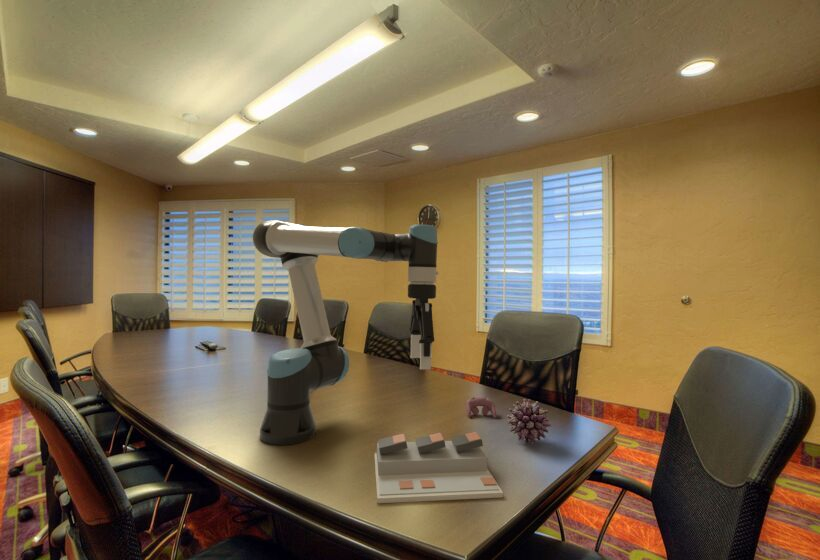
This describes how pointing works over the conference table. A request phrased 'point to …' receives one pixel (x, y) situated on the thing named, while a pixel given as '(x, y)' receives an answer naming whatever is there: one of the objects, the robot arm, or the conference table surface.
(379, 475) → the switch panel
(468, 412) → the video game controller
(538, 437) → the flower
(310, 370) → the robot arm
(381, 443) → the left switch
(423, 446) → the middle switch
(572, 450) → the conference table surface
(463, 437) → the right switch
